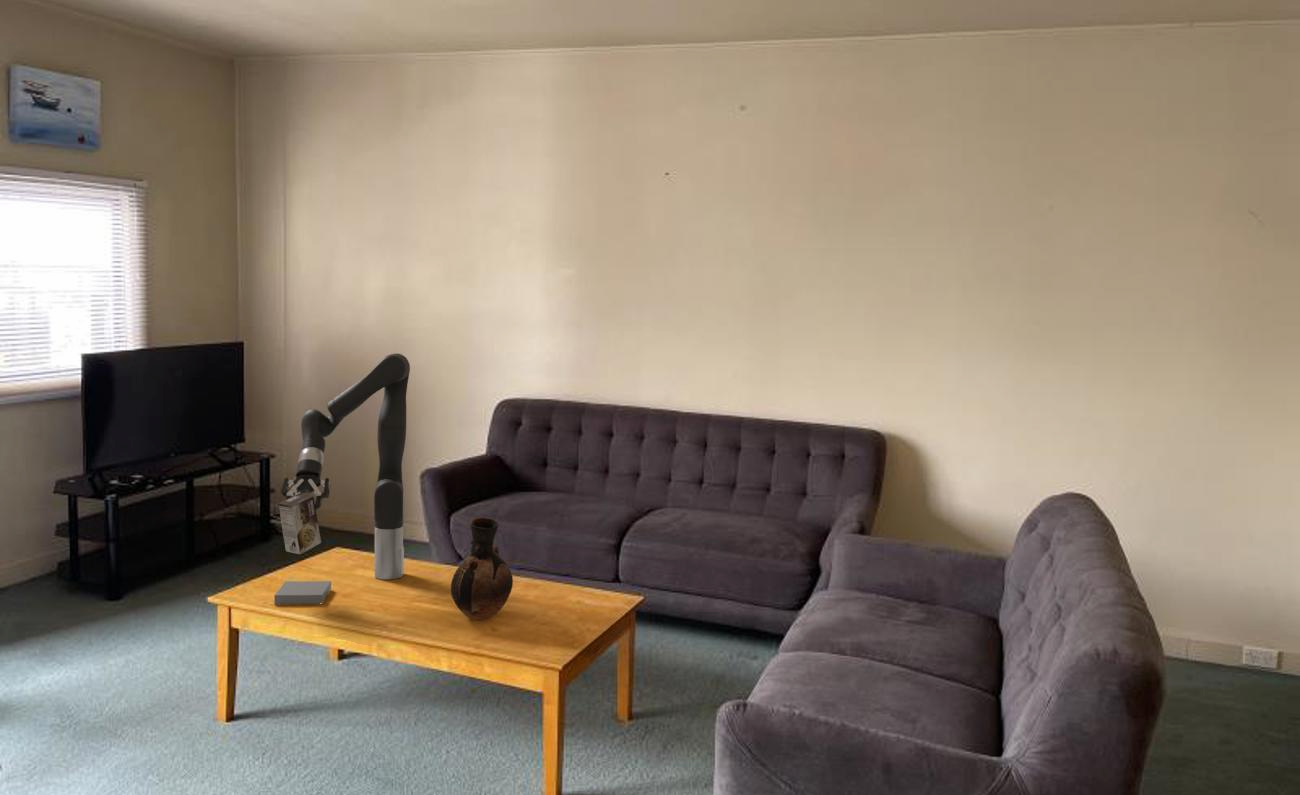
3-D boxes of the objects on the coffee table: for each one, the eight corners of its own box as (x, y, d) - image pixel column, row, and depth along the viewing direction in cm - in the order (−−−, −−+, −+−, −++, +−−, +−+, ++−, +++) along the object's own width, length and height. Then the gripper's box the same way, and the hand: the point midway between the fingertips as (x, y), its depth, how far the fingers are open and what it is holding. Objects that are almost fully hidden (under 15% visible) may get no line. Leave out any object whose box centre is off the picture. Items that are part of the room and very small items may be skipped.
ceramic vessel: (474, 601, 305) (476, 508, 302) (524, 610, 299) (526, 515, 295) (437, 622, 285) (438, 523, 282) (489, 631, 279) (490, 530, 276)
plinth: (331, 590, 311) (331, 581, 311) (322, 604, 298) (321, 594, 297) (285, 590, 310) (285, 581, 309) (274, 604, 296) (274, 595, 296)
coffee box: (306, 540, 308) (299, 492, 304) (321, 543, 305) (314, 495, 301) (284, 551, 300) (277, 503, 296) (299, 554, 298) (292, 505, 293)
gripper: (285, 458, 308) (276, 501, 298) (331, 458, 309) (324, 501, 299) (289, 471, 313) (281, 514, 304) (335, 471, 315) (328, 514, 305)
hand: (302, 508), depth 301 cm, fingers closed on coffee box, 8 cm apart
